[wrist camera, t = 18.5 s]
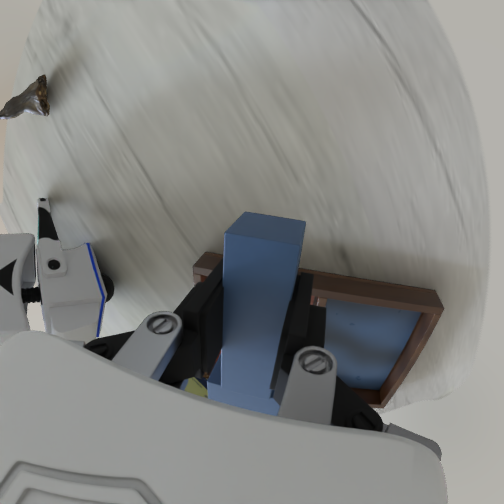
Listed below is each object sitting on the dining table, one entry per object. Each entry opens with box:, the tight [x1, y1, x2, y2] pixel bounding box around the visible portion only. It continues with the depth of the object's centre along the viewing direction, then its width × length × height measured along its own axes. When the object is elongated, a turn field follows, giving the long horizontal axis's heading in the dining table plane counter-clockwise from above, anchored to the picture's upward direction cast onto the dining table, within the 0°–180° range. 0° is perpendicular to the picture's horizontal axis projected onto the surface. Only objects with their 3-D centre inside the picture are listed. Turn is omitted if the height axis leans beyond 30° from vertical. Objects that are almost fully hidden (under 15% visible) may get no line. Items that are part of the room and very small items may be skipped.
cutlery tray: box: [193, 252, 444, 408], centre depth 28 cm, size 17×24×3 cm
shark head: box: [0, 75, 50, 119], centre depth 22 cm, size 8×6×7 cm
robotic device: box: [0, 198, 114, 346], centre depth 28 cm, size 10×21×20 cm
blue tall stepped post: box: [207, 212, 306, 416], centre depth 12 cm, size 13×4×2 cm, turn 176°
